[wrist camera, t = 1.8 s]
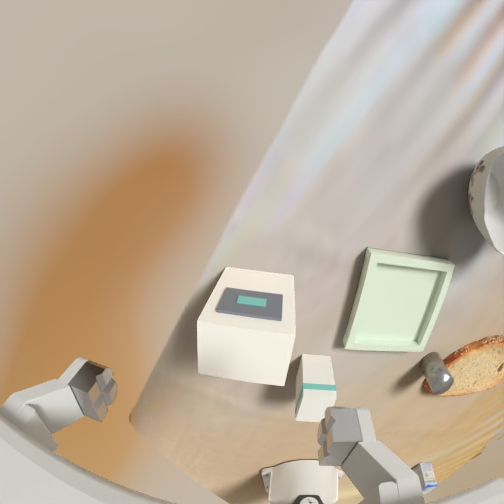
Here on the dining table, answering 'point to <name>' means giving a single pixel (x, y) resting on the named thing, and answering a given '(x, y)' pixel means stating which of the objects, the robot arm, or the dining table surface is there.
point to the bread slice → (475, 366)
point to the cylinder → (436, 373)
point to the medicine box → (425, 476)
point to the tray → (397, 301)
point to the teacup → (489, 198)
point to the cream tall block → (248, 327)
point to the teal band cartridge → (314, 388)
